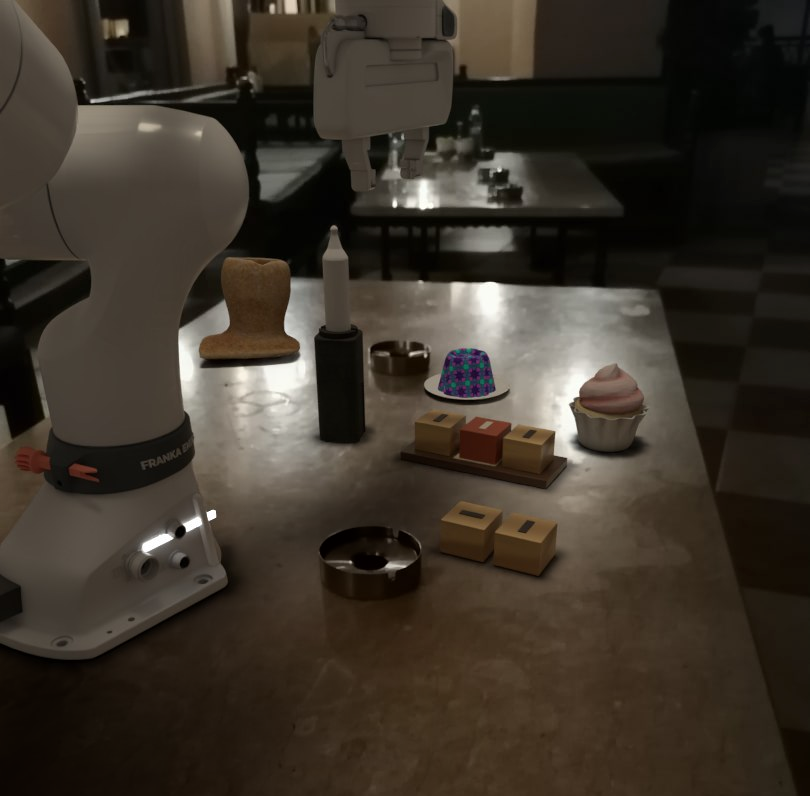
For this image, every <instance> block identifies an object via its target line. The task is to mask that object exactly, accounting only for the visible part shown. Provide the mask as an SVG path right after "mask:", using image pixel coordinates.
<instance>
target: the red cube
mask: <svg viewBox="0 0 810 796" xmlns="http://www.w3.org/2000/svg"><path fill="white" fill-rule="evenodd" d="M510 431H512V422H509V421H503V420H499V419H498V420H496V419H492V418H487V417H480V416H475V417H474V418H472V419H471V420H470V421H469V422H466V425H465V426H464V427H462V428H461V429H460V447H459V457H460V458H464V459H469V460H474V461H479V462H484V463H489V464H494V465H495V464H496V463H497V462H499V461H500V460H501V459H502V456H503V438H504V437H505V436H506V435H507V434H508V433H509V432H510Z"/></svg>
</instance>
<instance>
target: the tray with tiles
mask: <svg viewBox="0 0 810 796" xmlns="http://www.w3.org/2000/svg"><path fill="white" fill-rule="evenodd" d="M466 424H467V415H466V414H462V413H456V412H449V411H444V410H438V409H430V410H429V411H427V412H426V413H424V414H423V415H422V416H421V417H419V418H418V419H415V421H414V440H413V441H412V442H411V443H410V444H409V445H407V446H406V447H404V448H403V449H402V450H401V451H400V460H402V461H403V460H404V461H409V462H414V463H418V464H423V465H429V466H433V467H438V468H443V469H448V470H451V471H452V470H453V471H457V472H462V473H467V474H471V475H472V474H473V475H476V476H482V477H487V478H491V479H496V480H502V481H506V482H510V483H511V482H512V483H515V484H520V485H525V486H529V487H535V488H539V489H540V488H541V489H545V490H546V489H547V488H548V487H549V486H550V485H551V484H552V483H553V481H555V480H556V478H557V477H558V476H559V475H560V474H561V472H562V471H564V469H565V468H566V467H567V465H568V457H566V456H559V455H555V446H556V445H555V442H556V431H555V430H551V429H547V428H540V427H535V426H529V425H524V424H517V425H516V426H515V427H514V428H512V429H511V431H510V432H509V433H508V434H507V435H506V436H505V437H504V438H503V456H502V459H501V460H500V461H499V462H497V463H496V464H495V465H494V464H489V463H484V462H479V461H474V460H469V459H464V458H460V457H459V447H460V429H461V428H462V427H464V426H465V425H466Z"/></svg>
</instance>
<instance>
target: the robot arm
mask: <svg viewBox="0 0 810 796" xmlns="http://www.w3.org/2000/svg"><path fill="white" fill-rule="evenodd" d="M334 9H335V10H334V11H335V14H334V15H331V16H330V17H329V18H328V22H327V23H326V25H325V27H324V29H323V30H322V32H321V35H320V44H319V45H318V47H317V49H316V53H315V60H314V72H313V125H314V128H315V130H316V132H317V134H318V136H319V138H321V139H324V140H338V141H339V140H341V152H342V154H343V157H344V159H345V161H346V163H347V166H348V169H349V171H350V184H351V185H350V187H351V189H352V190H353V191H354V192H358V193H359V192H361V193H366V192H369V191H373V190H375V189H376V187H377V182H376V177H377V171H376V170H377V169H376V168H375V169H373V168H372V166H371V162H370V157H369V154H368V151H370V150H371V137H375V136H381V135H389V134H393V133H400V132H403V139H404V140H406V141H405V146H404V153H403V158H400V159H399V168H400V171H399V175H400V177H401V178H402V180H416V179H419V178H421V177H423V173H424V172H423V165H424V164H423V163H424V162H423V161H424V157H425V153H426V150H427V146H428V144H429V140H430V127H434V126H440V125H442V126H443V125H445V124H446V123H447V122H448V119H449V116H450V112H451V109H452V103H453V87H454V51H453V46H452V43H450V41H452V40H455V39H456V38H457V35H458V16H457V14H456V13H455V11H454V10H452V9H451V8H450V7H449V6H448V5H447V4H446V2H445V1H444V0H334ZM72 76H73V75H72V74H71V71H70V69H69V67H68V64H67V62H66V61H65V58H64V57H63V55H62V53H60V51H59V50H58V48H57V47H56V46H55V44H54V43H52V41H51V40H50V39H49V38H48V36H47V35H46V34H45V33H44V32H43V31H42V30H41V29H40V28H39V27H38V25H37V24H36V23H35V22H34V21H33V20H32V19H31V18H30V16H29V15H28V14H27V13H26V12H25V10H24V9H23V8H22V7H21V6H20V5H19V3H18V2H17V1H16V0H0V259H2V260H7V261H8V260H9V261H85V262H87V263H88V265H89V270H90V280H91V283H90V291H89V296H88V297H86V298H84V299H82V300H80V301H78V302H77V303H74V304H73V305H72V306H70V307H68V308H66V309H65V310H63V311H62V312H60V313H59V314H58V315H56V316H55V317H54V318H52V319H51V320H50V321H49V322H48V324H47V325H46V327H45V328H44V329H43V331H42V333H41V335H40V338H39V341H38V345H37V353H36V357H37V361H38V366H39V371H40V376H41V381H42V385H43V386H42V387H43V390H44V395H45V400H46V404H47V409H48V414H49V418H50V423H51V426H50V429H49V431H48V436H47V442H46V451H44V450H42V449H36V448H35V449H34V448H33V447H30V446H22V447H20V448H19V449H17V451H16V455H15V456H14V460H15V461H14V463H15V465H16V467H17V469H19V470H20V471H24V472H31V473H33V474H36V475H40V474H42V473H43V478H44V481H43V482H42V484H41V485H40V487H39V488H38V490H37V491H36V492H35V494H34V496H33V497H32V499H31V500H30V501H29V503H28V504H27V506H26V508H25V509H24V510H23V512H22V514H21V515H20V516H19V518H18V519H17V521H16V522H15V524H14V525H13V526H12V528H11V529H10V531H8V533H7V535H5V538H4V539H3V540H2V541H1V543H0V644H1V645H3V646H6V647H8V648H10V649H13V650H17V651H19V652H23V653H26V654H29V655H32V656H37V657H41V658H46V659H47V658H48V659H54V660H66V661H67V660H68V661H69V660H70V661H77V660H78V661H80V660H90V659H94V658H96V657H99V656H100V655H103V654H104V653H106V652H108V651H110V650H112V649H114V648H116V647H117V646H119V645H121V644H123V643H125V642H126V641H128V640H130V639H132V638H134V637H136V636H137V635H139V634H141V633H143V632H145V631H147V630H149V629H151V628H152V627H154V626H156V625H158V624H159V623H161V622H163V621H165V620H167V619H169V618H171V617H173V616H174V615H176V614H178V613H180V612H182V611H183V610H185V609H188V608H189V607H191V606H193V605H195V604H196V603H198V602H200V601H202V600H204V599H206V598H207V597H209V596H211V595H213V594H215V593H217V592H219V591H220V590H223V589H224V588H225V587H226V586H227V585H228V583H229V579H228V576H227V572H226V569H225V568H224V566H223V564H222V563H221V562H222V550H221V547H220V545H219V543H218V541H217V539H216V537H215V535H214V532H213V529H212V527H211V523H210V521H212V520H213V519H215V518H217V513H216V510H214V509H212V510H210V511H207V507H206V504H205V501H204V496H203V493H202V490H201V488H200V485H199V481H198V479H197V475H196V472H195V467H194V463H193V460H194V458H195V456H196V450H195V449H196V448H195V433H194V432H193V428H192V422H191V417H190V415H189V413H188V412H187V411H186V410H185V406H184V399H183V391H182V380H181V368H180V367H181V366H180V346H179V343H180V342H179V340H180V339H179V333H180V323H181V318H182V314H183V313H182V312H183V310H184V307H185V303H186V301H187V298H188V296H189V293H190V291H191V289H192V287H193V285H194V283H195V282H196V281H197V279H198V278H199V276H200V275H201V273H202V272H203V270H204V269H205V268H206V267H207V266H208V265H209V264H210V262H211V261H212V260H214V259H215V258H216V257H217V256H218V255H219V254H220V253H222V252H223V251H224V250H225V249H226V248H227V247H228V246H229V245H230V244H231V243H232V242H233V240H234V239H235V238H236V236H237V235H238V233H239V231H240V229H241V227H242V226H243V223H244V220H245V218H246V214H247V210H248V207H249V200H250V199H249V197H250V196H249V195H250V182H249V176H248V170H247V167H246V162H245V161H244V160H245V159H244V158H243V155H242V152H241V151H240V148H239V147H238V145H237V143H236V142H235V140H234V138H233V137H232V136H231V134H230V133H229V132H228V130H227V129H226V128H225V127H224V126H223V125H222V123H220V122H219V120H217V119H216V118H214V117H211V116H208V115H203V114H198V113H195V112H190V111H186V110H182V109H178V108H177V109H176V108H172V107H171V108H170V107H166V106H161V105H155V104H127V105H126V104H113V105H111V104H110V105H109V104H108V105H107V104H105V105H104V104H98V105H97V104H93V105H91V104H87V105H82V104H80V105H79V104H78V103H79V102H78V95H77V90H76V87H75V83H74V79H73V77H72Z"/></svg>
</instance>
